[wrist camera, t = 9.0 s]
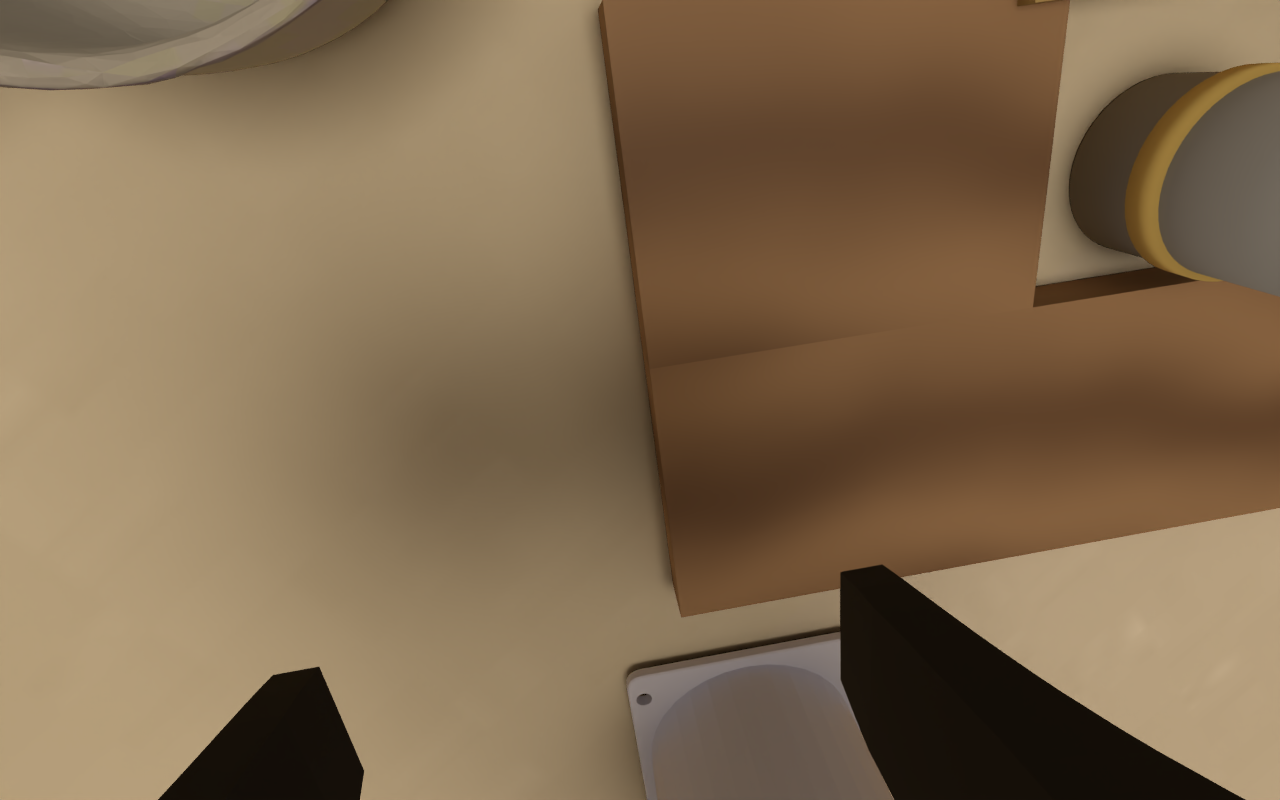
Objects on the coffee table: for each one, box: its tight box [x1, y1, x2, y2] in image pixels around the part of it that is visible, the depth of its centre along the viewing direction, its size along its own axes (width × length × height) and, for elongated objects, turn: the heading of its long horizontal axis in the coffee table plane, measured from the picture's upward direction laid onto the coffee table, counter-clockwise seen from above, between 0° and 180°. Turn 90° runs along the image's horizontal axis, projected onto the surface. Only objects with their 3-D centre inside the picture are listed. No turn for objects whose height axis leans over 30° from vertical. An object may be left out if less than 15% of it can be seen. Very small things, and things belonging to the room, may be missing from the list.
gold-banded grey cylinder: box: [1069, 63, 1280, 297], centre depth 16 cm, size 5×5×5 cm
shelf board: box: [598, 0, 1280, 617], centre depth 18 cm, size 16×22×2 cm
